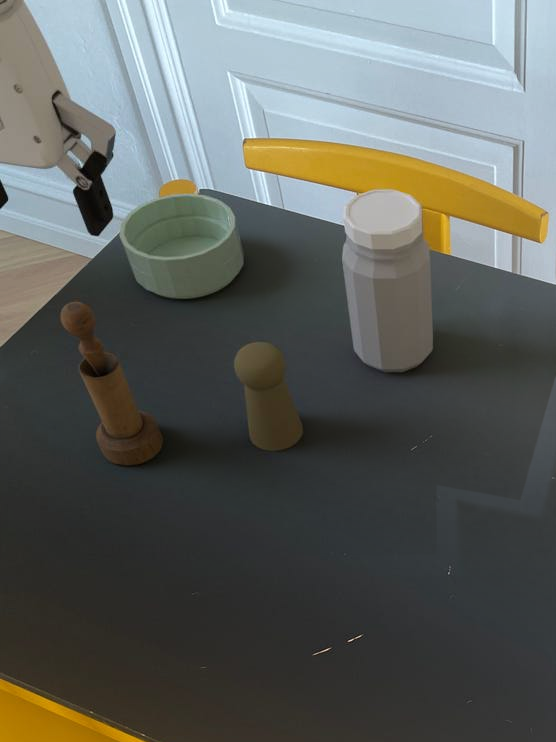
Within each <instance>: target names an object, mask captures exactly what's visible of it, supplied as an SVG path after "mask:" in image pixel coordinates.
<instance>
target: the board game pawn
mask: <svg viewBox="0 0 556 742" xmlns="http://www.w3.org/2000/svg"><path fill="white" fill-rule="evenodd" d="M233 365H234V372H235V375H236V377H237V378H238V380H239V381H240V383H241V384H242V385H243V388H244V395H245V396H244V397H245V406H246V414H247V417H246V418H247V424H248V434H249V439H250V441H251V443H252V444H253V445H255V446H256V447H257V448H258V449H261V450H264V451H268V452H269V451H270V452H275V451H276V452H277V451H283V450H286V449H288V448H292V447H293V446H295V444H297V443H298V442H299V440H300V439H301V438H302V435H303V433H304V428H303V427H304V426H303V423H302V420H301V419H300V415H299V413H298V410H297V408H296V405H295V403H294V401H293V398H292V395H291V392H290V390H289V388H288V386H287V382H286V380H285V374H286V370H287V369H286V362H285V357H284V356H283V354H282V352H281V351H280V350H279V349H278V348H277V346H274V345H273V344H271V343H268V342H266V341H265V342H263V341H255V342H251V343H248V344H246V345H244V346H242V347H240V349H239V350H238V351H237V353H236V355H235V358H234V364H233Z"/></svg>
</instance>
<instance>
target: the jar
mask: <svg viewBox="0 0 556 742" xmlns="http://www.w3.org/2000/svg"><path fill="white" fill-rule="evenodd" d="M422 209H423V207H422V204H421V203H420V202H419V201H418V200H417V199H416V198H415V197H414V196H413V195H411V194H408V193H405V192H402V191H399V190H396V189H372V190H369V191H366V192H365V191H364V192H362V193H359V194H356V195H355V196H353V197H352V198H351V199H350V200H349V201H347V203H346V204H344V207H343V215H342V216H343V217H342V220H343V226H344V234H346V237H345V242H344V244H343V246H342V255H341V261H342V271H343V276H344V284H345V292H346V299H347V306H348V307H347V308H348V314H349V315H348V316H349V323H350V328H351V329H350V330H351V338H352V346H353V351H354V352H355V354H356V355H357V356H358V357H359V359H360V360H361V361H362V362H363V363H364V365H365V364H366V365H367V366H368V367H370V368H372V369H375V370H377V371H381V372H383V373H403V372H407V371H409V370H411V369H414V368H417V367H418V366H419V365H421V364H422V363H423V362H424V361H425V360H426V358H427V357H428V356H429V355H430V354H431V353H432V351H433V350H434V330H433V303H432V302H433V301H432V279H431V278H432V277H431V252H430V250H431V249H430V244H429V243H428V242H427V241H426V239H424V229H423V210H422Z"/></svg>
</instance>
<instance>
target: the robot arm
mask: <svg viewBox="0 0 556 742" xmlns="http://www.w3.org/2000/svg"><path fill="white" fill-rule="evenodd" d="M82 135H83V136H85V137H86V138H87V139H88V140H89V142H90V147H89V146H88V145H87V144H86V143H85V142H84V141H83V140H82V139H81V138H82ZM116 135H117V131H116V128H115V127H114V126H113V125H112V124H111V123H109V122H108V121H106V120H105V119H103V118H102V117H100V116H98V115H97V114H95V113H93V112H92V111H90V110H88V109H86V108H85V107H83V106H82V105H80V104H78V103H77V102H75V101H73V100H72V97H71V95H70V93H69V90H68V88H67V85H66V83H65V80H64V78H63V76H62V73H61V71H60V69H59V66H58V64H57V61H56V60H55V58H54V55H53V53H52V51H51V49H50V47H49V45H48V42H47V40H46V38H45V37H44V35H43V33H42V31H41V28H40V27H39V25H38V23H37V21H36V20H35V18H34V16H33V14H32V12H31V11H30V9H29V7H28V5H27V4H26V1H25V0H0V164H3V165H10V166H17V167H23V168H31V169H39V170H49V169H53V168H54V167H57V168H58V169H60V171H61V172H63V173H64V174H65V175H66V176H67V178H69V179H70V180H71V181H72V182H73V183H74V184H75V186H74V187H73V188H72V189H73V190H72V194H73V197H74V199H75V202H76V205H77V207H78V210H79V213H80V216H81V218H82V220H83V223H84V225H85V229H86V231H87V233H88V234H89V235H90V236H93V237H94V236H95V237H99V236H100V235H101V234H102V233H103V231H104V230H105V229H106V228H107V226H108V225H109V224H110V223H111V222H112V220H113V218H114V208H113V206H112V203H111V200H110V197H109V195H108V191H107V188H106V185H105V183H104V179H103V177H102V174H103V173H105V171H106V169H107V167H108V166H109V165H110V163H111V161H112V160H113V158H114V152H113V151H114V148H115V143H116ZM68 152H70V153H72V154H73V156H75V157H76V158H77V159H78V160H79V161H80V162H81V163H82V164H83V165H82V167H81V165H79V164H78V163H77V162H76V161H75V160H74V159H73V158H72V157H71V156H70V155H69V154H68ZM8 202H9V195H8V193H7V191H6V189H5V187H4V184H3V182H2V180H1V179H0V210H2V208H3V207H4V206H5V205H6V204H7V203H8Z"/></svg>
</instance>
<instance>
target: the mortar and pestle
mask: <svg viewBox="0 0 556 742" xmlns="http://www.w3.org/2000/svg"><path fill="white" fill-rule="evenodd" d="M60 322H61V324H62V326H63V328H64V329H65V330H66V331H67V332H68V333H70V334H71V335H72V336H74V337H75V338H77V339H78V340H79V342H80V343H79V344H78V347H77V348H78V351H79V352H80V354H81V355H82V357H83V359H82V360H81V361H80V362H79V364H78V372H79V375H80V376H81V379H82V381H83V382H84V385H85V387H86V389H87V391H88V394H89V396H90V397H91V399H92V402H93V405H94V406H95V409H96V411H97V413H98V416H99V417H100V420H101V422H100V423H99V425H98V427H97V428H96V432H95V437H96V441H97V443H98V447H99V448H100V450H101V452H102V455H103V456H104V457H105V459H106V460H108V461H109V462H110V463H112V464H115V465H121V466H137V465H141V464H143V463H146V462H148V461H150V460H152V459H153V458H154V457H155V456H157V455H158V454H159V452H160V451H161V450H162V447H163V444H164V439H163V435H162V432H161V430H160V428H159V425H158V423H157V420H155V418H154V417H153V416H152V415H151V414H149V413H147V412H145V411H142V410H139V409H138V406H137V403H136V401H135V399H134V396H133V394H132V392H131V389H130V386H129V383H128V382H127V379H126V376H125V374H124V371H123V369H122V366H121V362H120V360H119V358H118V356H117V355H116V354H113V353H111V352H105V350H104V346H103V342H102V341H101V340H100V339H98V338H96V337H95V335H94V331H95V327H96V317H95V314H94V312H93V310H92V309H91V308H90V307H89V306H88V305H86V304H85V303H84V302H80V301H71V302H68V303H66V304H65V305H64V306H63V308H61V310H60Z"/></svg>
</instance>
